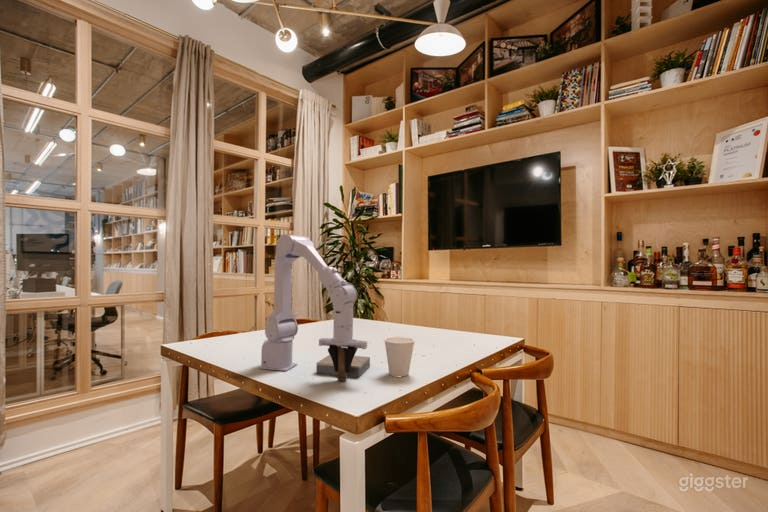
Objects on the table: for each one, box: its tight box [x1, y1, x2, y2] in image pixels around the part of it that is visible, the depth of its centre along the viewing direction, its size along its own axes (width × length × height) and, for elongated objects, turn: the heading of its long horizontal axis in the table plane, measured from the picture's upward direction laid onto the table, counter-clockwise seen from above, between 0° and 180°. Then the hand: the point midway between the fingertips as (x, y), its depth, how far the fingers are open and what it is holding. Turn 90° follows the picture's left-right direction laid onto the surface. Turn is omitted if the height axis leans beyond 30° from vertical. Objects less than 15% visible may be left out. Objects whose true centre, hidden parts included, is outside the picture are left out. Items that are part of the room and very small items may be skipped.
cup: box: [383, 336, 416, 377], centre depth 118 cm, size 10×10×11 cm
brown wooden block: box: [336, 347, 348, 381], centre depth 111 cm, size 3×3×9 cm
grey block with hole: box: [316, 354, 371, 379], centre depth 121 cm, size 14×12×3 cm
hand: (342, 371), depth 111 cm, fingers closed on brown wooden block, 3 cm apart
